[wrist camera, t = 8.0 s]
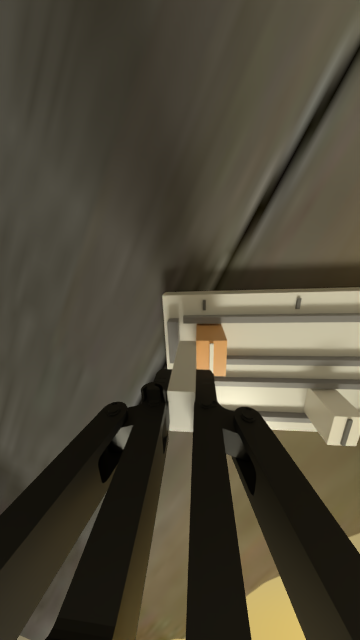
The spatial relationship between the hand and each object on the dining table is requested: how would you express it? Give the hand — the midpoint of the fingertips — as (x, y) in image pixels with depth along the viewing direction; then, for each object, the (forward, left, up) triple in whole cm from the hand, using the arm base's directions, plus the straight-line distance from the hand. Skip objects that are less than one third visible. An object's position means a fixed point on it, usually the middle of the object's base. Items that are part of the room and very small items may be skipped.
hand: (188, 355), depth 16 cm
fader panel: (+3, +10, -5) cm, 12 cm away
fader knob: (0, +2, -3) cm, 4 cm away
